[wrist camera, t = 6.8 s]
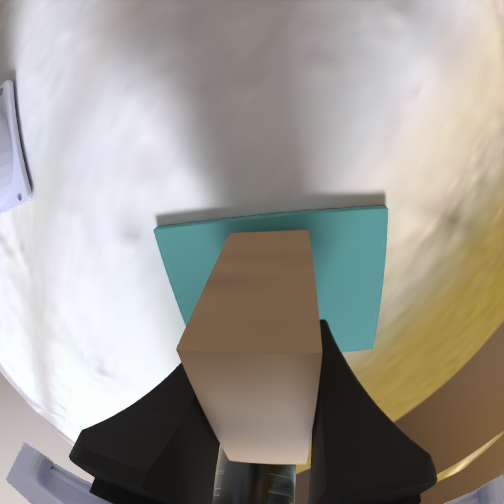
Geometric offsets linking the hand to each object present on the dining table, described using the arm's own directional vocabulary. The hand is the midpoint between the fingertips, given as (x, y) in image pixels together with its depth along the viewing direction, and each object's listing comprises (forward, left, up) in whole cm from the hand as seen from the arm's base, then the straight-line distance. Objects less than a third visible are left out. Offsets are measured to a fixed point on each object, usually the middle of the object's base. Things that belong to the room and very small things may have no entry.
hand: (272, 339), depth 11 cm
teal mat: (0, 0, -3) cm, 3 cm away
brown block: (0, 0, -2) cm, 2 cm away
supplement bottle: (-3, -17, -3) cm, 18 cm away
